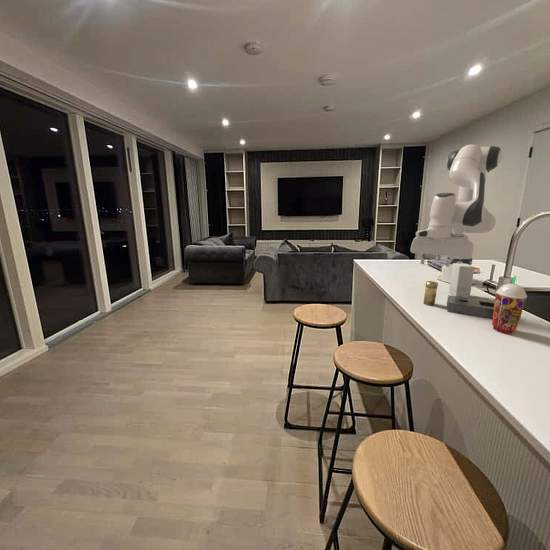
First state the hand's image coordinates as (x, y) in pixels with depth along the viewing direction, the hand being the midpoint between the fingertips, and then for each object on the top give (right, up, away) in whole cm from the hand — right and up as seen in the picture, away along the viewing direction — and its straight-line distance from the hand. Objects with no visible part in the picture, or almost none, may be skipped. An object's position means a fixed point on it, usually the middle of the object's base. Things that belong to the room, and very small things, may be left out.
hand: (434, 265), depth 121 cm
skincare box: (+21, -15, +16) cm, 30 cm away
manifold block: (+14, -20, -4) cm, 25 cm away
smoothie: (+12, -24, -21) cm, 34 cm away
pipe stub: (0, -17, +5) cm, 18 cm away
